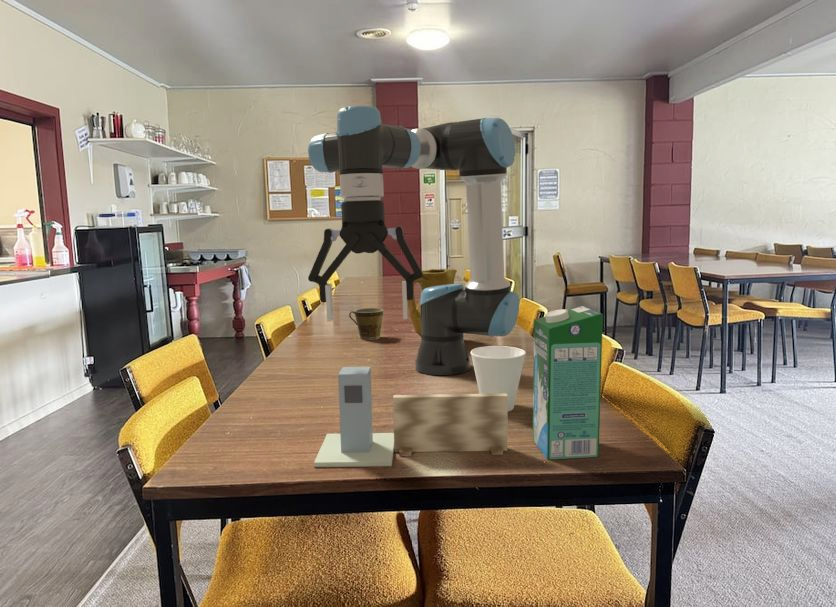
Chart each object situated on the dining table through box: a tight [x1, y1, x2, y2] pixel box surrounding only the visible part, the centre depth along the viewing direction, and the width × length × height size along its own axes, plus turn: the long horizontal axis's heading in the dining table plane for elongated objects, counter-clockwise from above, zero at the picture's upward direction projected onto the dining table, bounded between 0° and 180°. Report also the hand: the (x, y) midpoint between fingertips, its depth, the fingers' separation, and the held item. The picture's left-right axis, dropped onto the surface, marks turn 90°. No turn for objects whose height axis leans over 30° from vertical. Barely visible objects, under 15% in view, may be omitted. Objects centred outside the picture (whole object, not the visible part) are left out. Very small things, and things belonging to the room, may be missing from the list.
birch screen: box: [392, 393, 509, 457], centre depth 101 cm, size 20×5×10 cm, turn 89°
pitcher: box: [407, 268, 458, 337], centre depth 188 cm, size 17×19×25 cm
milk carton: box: [532, 305, 604, 460], centre depth 99 cm, size 9×9×25 cm
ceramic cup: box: [348, 307, 384, 341], centre depth 199 cm, size 13×10×10 cm
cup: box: [470, 345, 527, 412], centre depth 123 cm, size 12×12×12 cm
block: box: [337, 366, 374, 452], centre depth 100 cm, size 5×5×14 cm
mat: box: [313, 432, 395, 468], centre depth 101 cm, size 13×13×1 cm
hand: (368, 319), depth 103 cm, fingers open, 13 cm apart
